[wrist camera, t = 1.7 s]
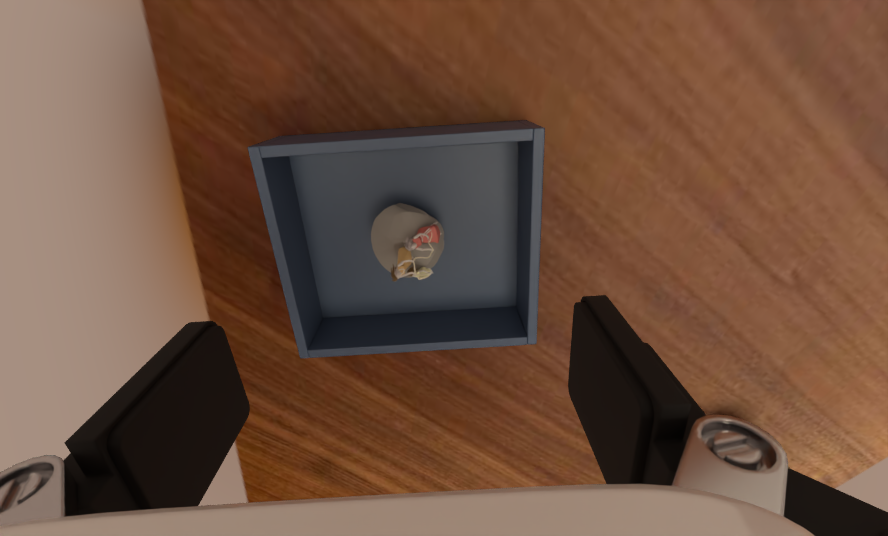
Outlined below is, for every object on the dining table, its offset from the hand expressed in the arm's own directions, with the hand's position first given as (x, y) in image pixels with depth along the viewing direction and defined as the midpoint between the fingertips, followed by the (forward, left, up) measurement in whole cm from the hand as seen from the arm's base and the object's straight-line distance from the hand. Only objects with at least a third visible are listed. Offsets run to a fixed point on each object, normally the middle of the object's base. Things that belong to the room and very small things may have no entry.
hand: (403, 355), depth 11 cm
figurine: (-1, -2, -17) cm, 17 cm away
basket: (-1, -2, -17) cm, 18 cm away
